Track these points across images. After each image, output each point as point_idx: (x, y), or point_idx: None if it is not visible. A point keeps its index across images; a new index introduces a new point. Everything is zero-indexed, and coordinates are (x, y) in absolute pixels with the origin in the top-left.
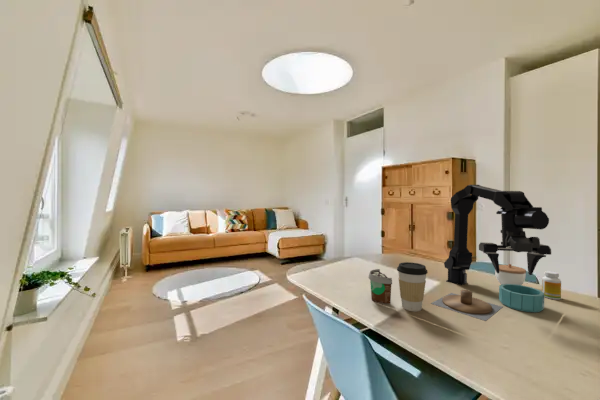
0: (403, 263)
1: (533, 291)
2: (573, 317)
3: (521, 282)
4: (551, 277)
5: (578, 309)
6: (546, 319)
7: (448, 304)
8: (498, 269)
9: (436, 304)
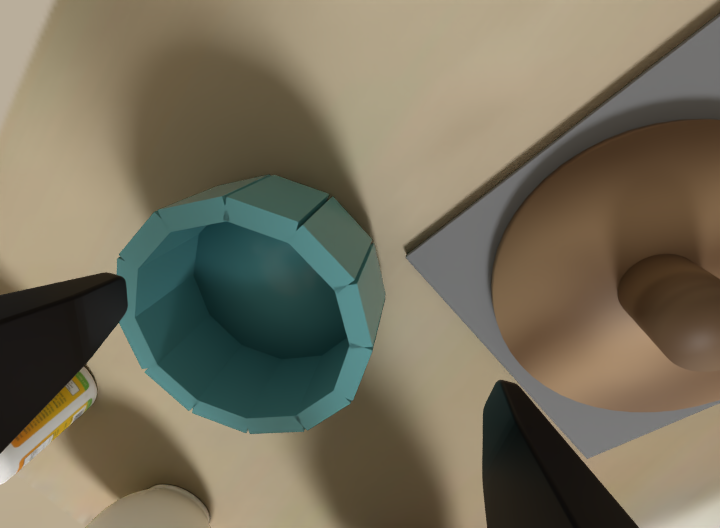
0: None
1: (156, 329)
2: (90, 138)
3: (123, 500)
4: None
5: (18, 243)
6: (252, 95)
7: None
8: (528, 420)
9: None
